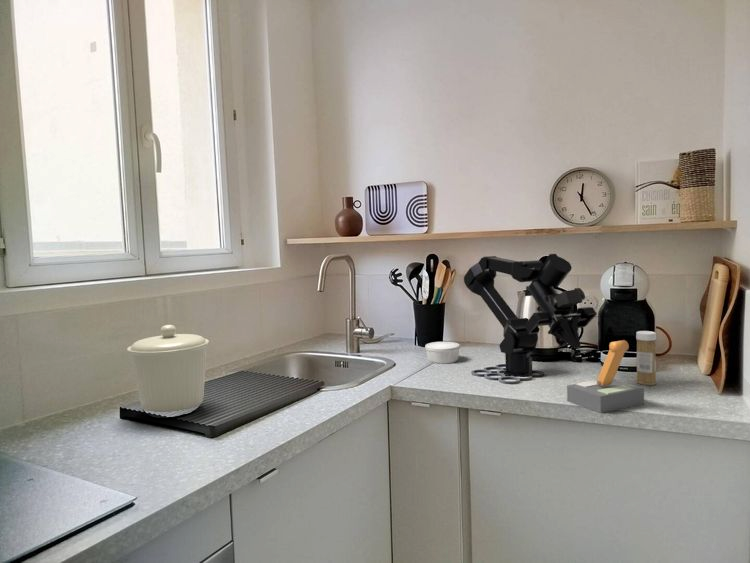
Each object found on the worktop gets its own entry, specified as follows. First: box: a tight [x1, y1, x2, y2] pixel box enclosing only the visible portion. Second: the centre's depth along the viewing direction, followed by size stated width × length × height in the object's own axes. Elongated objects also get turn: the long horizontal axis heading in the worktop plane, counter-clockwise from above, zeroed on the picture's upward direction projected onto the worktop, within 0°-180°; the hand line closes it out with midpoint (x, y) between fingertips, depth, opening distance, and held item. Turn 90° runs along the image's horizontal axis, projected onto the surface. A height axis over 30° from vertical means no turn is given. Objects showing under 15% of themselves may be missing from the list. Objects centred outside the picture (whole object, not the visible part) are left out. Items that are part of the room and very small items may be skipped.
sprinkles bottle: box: [635, 330, 657, 386], centre depth 134 cm, size 5×5×14 cm
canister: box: [126, 324, 210, 412], centre depth 124 cm, size 18×18×21 cm
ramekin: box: [424, 341, 461, 365], centre depth 168 cm, size 11×11×5 cm
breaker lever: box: [596, 339, 630, 387], centre depth 117 cm, size 2×3×12 cm
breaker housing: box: [566, 379, 645, 414], centre depth 120 cm, size 10×13×4 cm
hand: (578, 347), depth 126 cm, fingers closed
